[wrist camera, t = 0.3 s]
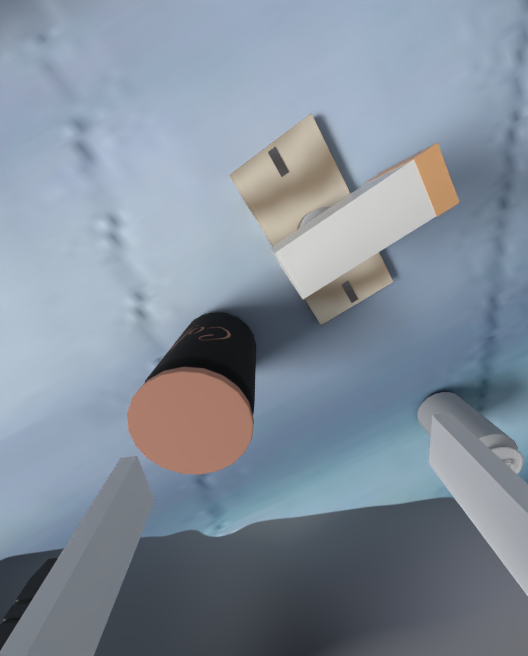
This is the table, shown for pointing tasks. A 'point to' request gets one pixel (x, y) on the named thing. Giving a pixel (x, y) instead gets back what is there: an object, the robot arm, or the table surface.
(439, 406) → the can
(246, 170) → the lock board
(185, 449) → the coffee jar
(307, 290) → the orange-capped white bar
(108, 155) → the table surface
